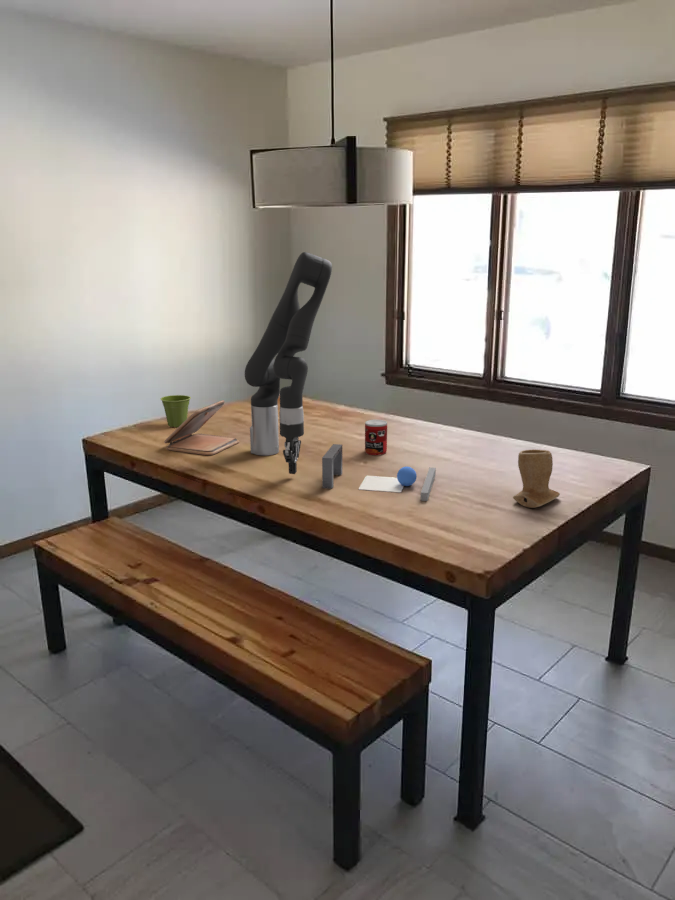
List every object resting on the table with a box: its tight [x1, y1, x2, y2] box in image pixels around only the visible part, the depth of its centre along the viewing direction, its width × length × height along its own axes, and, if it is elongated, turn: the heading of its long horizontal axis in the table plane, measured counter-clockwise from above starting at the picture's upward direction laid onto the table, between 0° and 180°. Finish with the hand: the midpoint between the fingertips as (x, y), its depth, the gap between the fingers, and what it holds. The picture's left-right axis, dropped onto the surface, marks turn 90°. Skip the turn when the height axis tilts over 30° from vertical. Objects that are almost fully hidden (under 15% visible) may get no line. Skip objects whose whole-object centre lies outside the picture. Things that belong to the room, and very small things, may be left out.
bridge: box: [321, 443, 343, 490], centre depth 236 cm, size 3×15×10 cm, turn 167°
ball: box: [396, 466, 418, 487], centre depth 232 cm, size 6×6×6 cm
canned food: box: [364, 419, 388, 456], centre depth 265 cm, size 8×8×11 cm
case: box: [163, 399, 240, 456], centre depth 273 cm, size 20×21×16 cm
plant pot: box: [160, 394, 192, 428], centre depth 301 cm, size 12×12×11 cm
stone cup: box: [512, 449, 561, 509], centre depth 218 cm, size 15×12×15 cm
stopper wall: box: [420, 467, 437, 502], centre depth 231 cm, size 2×24×2 cm, turn 167°
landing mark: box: [358, 475, 405, 494], centre depth 234 cm, size 13×13×1 cm
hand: (292, 473), depth 240 cm, fingers closed
